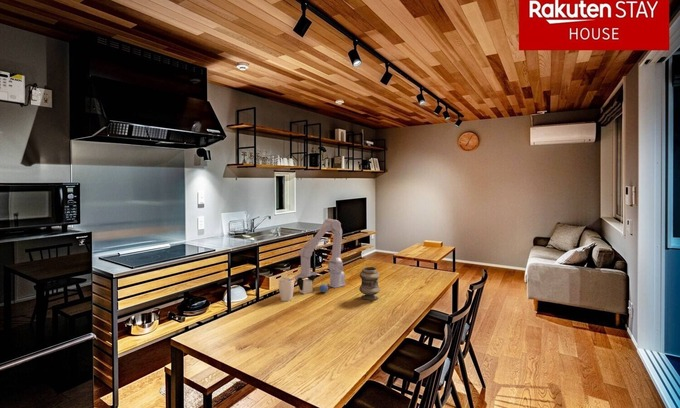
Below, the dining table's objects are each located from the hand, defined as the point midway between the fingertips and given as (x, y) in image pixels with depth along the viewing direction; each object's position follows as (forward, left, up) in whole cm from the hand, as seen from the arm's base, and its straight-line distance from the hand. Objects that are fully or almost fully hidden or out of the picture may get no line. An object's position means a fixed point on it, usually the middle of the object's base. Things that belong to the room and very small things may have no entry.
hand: (305, 288), depth 216 cm
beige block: (0, 0, -2) cm, 2 cm away
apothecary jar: (-23, +33, -2) cm, 40 cm away
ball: (-8, +8, +1) cm, 11 cm away
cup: (+16, +4, -2) cm, 17 cm away
